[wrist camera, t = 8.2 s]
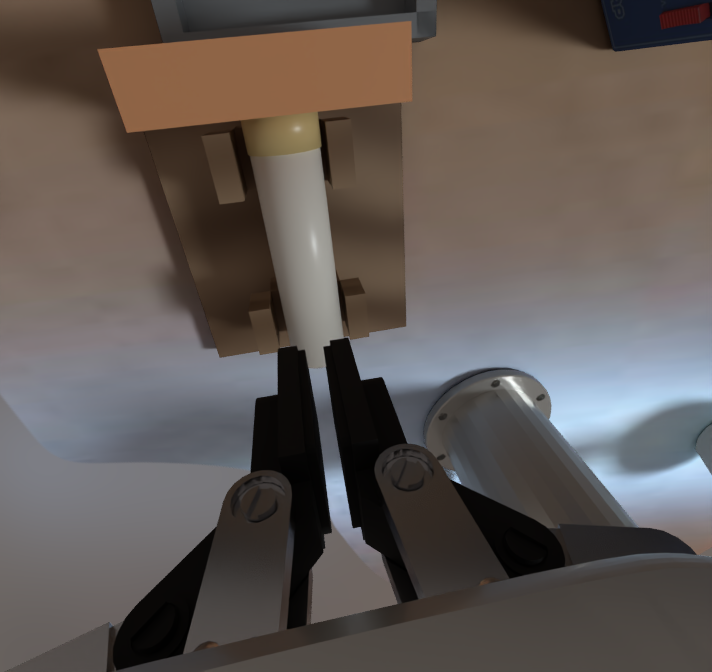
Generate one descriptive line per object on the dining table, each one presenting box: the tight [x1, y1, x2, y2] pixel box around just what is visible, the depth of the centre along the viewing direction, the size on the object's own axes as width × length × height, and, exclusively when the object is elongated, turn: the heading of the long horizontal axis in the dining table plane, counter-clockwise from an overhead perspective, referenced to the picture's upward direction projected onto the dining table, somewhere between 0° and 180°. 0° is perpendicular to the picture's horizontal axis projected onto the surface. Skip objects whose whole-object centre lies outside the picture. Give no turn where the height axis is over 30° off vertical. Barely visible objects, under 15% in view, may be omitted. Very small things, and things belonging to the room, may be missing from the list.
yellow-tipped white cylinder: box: [240, 112, 344, 368], centre depth 22 cm, size 14×4×4 cm, turn 5°
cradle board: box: [144, 103, 406, 358], centre depth 23 cm, size 17×14×6 cm
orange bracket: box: [97, 21, 412, 133], centre depth 17 cm, size 2×10×8 cm, turn 95°
